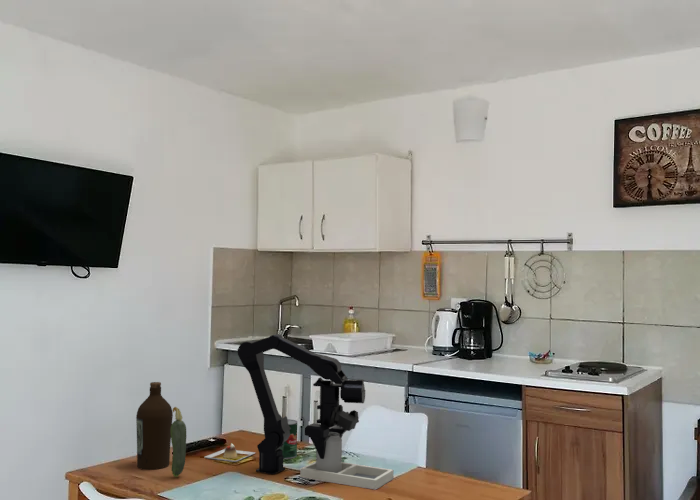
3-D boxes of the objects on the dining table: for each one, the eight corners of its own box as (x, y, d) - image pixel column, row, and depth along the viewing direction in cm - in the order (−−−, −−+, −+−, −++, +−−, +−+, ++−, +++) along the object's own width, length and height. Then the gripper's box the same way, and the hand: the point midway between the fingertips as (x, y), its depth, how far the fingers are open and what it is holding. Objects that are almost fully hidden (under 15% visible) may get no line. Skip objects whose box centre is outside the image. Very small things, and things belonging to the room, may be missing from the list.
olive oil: (168, 460, 209) (170, 379, 210) (173, 468, 199) (175, 384, 201) (133, 463, 205) (135, 381, 206) (136, 472, 195) (139, 386, 197)
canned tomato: (295, 459, 212) (296, 424, 212) (271, 458, 212) (271, 423, 213) (298, 453, 220) (298, 419, 220) (274, 452, 220) (274, 419, 220)
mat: (341, 482, 187) (341, 481, 187) (356, 474, 196) (356, 473, 196) (373, 487, 183) (373, 486, 183) (387, 479, 191) (387, 478, 191)
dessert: (203, 460, 211) (204, 445, 211) (224, 452, 222) (225, 437, 222) (236, 464, 206) (236, 449, 207) (256, 456, 218) (256, 441, 218)
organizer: (300, 477, 192) (300, 468, 192) (321, 467, 203) (321, 459, 203) (375, 489, 181) (375, 480, 181) (393, 478, 192) (393, 469, 192)
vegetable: (188, 476, 191) (190, 406, 192) (179, 480, 187) (181, 408, 188) (174, 474, 193) (176, 405, 194) (166, 479, 189) (168, 407, 190)
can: (342, 472, 198) (343, 431, 199) (339, 479, 191) (340, 436, 191) (317, 471, 199) (318, 430, 199) (314, 478, 191) (314, 435, 192)
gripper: (338, 409, 184) (337, 467, 183) (368, 399, 200) (367, 452, 199) (304, 405, 189) (303, 461, 188) (335, 396, 205) (334, 447, 205)
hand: (328, 455), depth 195 cm, fingers closed on can, 7 cm apart
